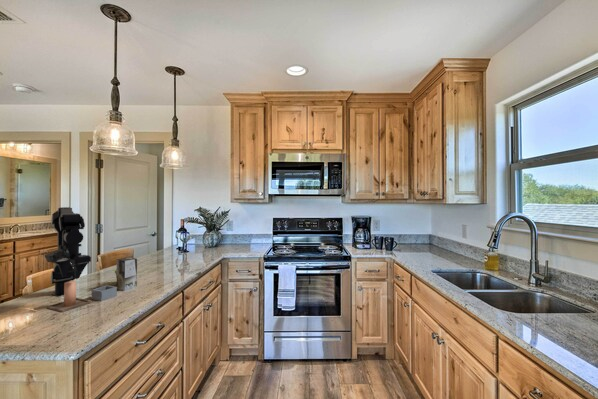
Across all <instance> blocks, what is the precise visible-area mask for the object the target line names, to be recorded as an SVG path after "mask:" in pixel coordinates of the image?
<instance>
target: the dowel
mask: <svg viewBox="0 0 598 399" xmlns="http://www.w3.org/2000/svg"><path fill="white" fill-rule="evenodd" d="M63 297H64V298H63V302H64V306H65V307H69V306H73V305H75V304H76V298H77V280H72V281H68V282H65V283H64V295H63Z"/></svg>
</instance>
